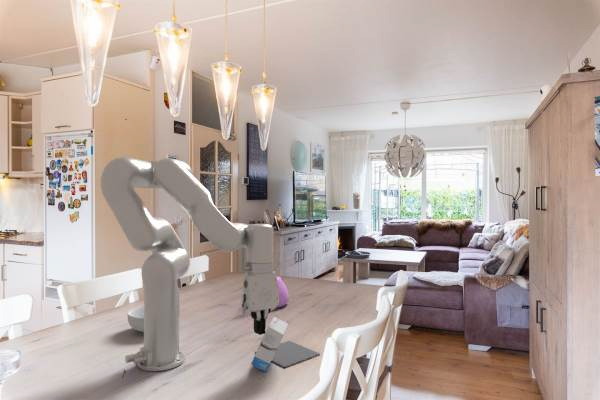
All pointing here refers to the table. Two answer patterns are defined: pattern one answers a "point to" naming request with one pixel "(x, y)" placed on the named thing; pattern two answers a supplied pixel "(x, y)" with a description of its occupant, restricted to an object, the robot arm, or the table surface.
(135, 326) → the cereal bowl
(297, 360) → the mat
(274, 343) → the ink box
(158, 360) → the robot arm
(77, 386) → the table surface
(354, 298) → the table surface
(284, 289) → the teapot
